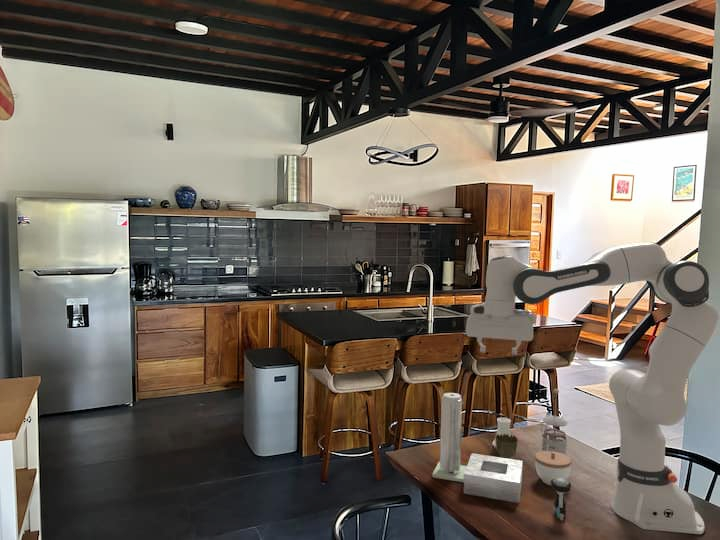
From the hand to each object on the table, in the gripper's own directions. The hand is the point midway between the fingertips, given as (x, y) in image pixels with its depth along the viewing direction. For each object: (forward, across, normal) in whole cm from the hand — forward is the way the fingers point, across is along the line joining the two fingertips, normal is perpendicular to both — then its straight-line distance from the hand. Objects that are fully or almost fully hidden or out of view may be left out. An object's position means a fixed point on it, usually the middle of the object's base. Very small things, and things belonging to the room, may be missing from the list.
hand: (498, 352), depth 163 cm
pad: (+41, +14, -1) cm, 43 cm away
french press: (+41, -17, -25) cm, 51 cm away
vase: (+41, 0, -30) cm, 51 cm away
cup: (+41, -2, -18) cm, 45 cm away
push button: (+41, -19, +14) cm, 48 cm away
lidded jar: (+41, -17, -7) cm, 45 cm away
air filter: (+40, +14, -1) cm, 43 cm away
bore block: (+41, 0, +3) cm, 41 cm away
